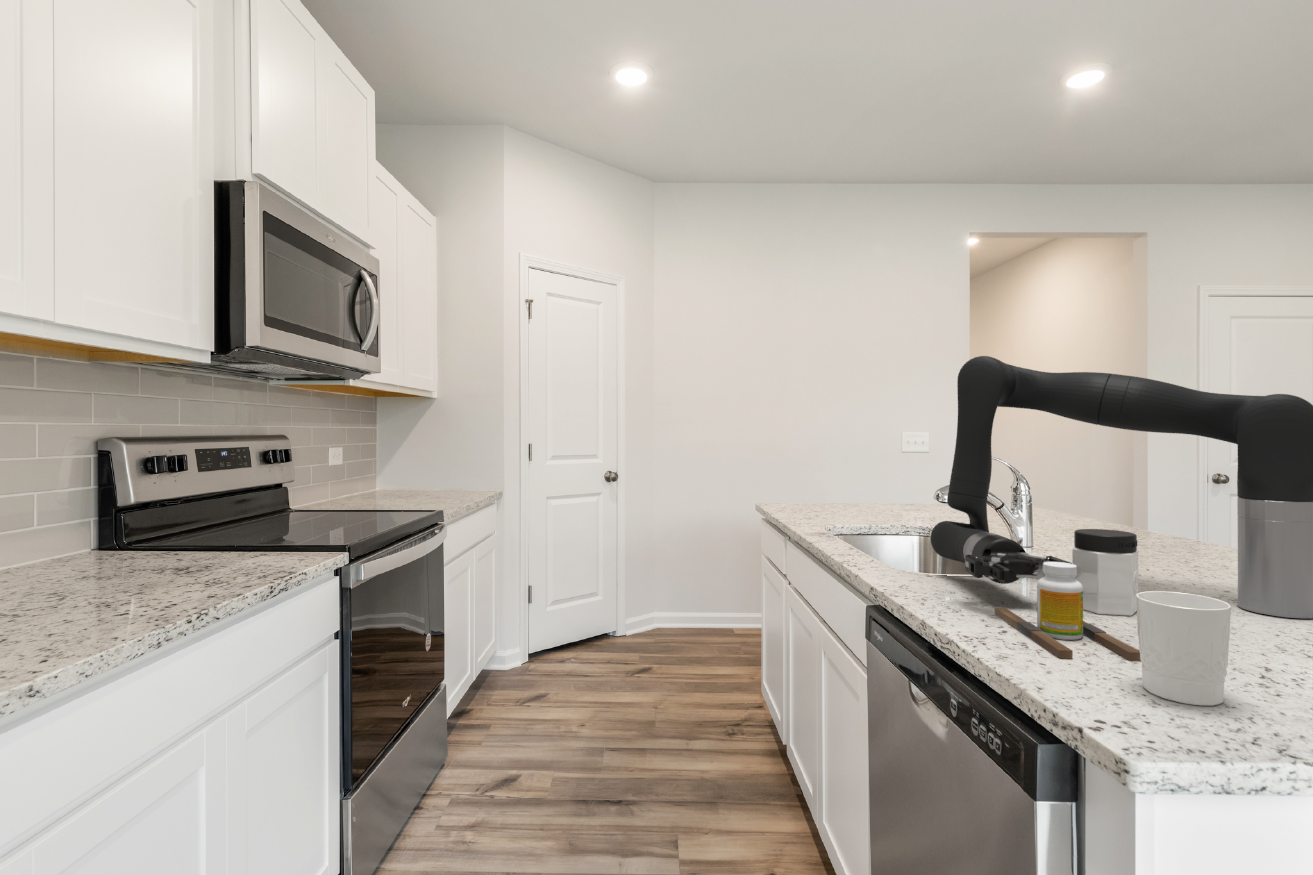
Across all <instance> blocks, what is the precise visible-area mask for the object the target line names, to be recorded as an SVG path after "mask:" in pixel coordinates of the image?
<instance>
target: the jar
mask: <svg viewBox="0 0 1313 875" xmlns="http://www.w3.org/2000/svg"><path fill="white" fill-rule="evenodd" d="M1073 537H1074V541H1073V542H1074V547H1072V549H1071V550H1072V564H1074V565H1076V566H1077V574H1076V575H1077V576H1076V577H1075V580H1077V581H1079V582H1080V583H1081V584H1082V586H1083V611H1087V612H1091V613H1094V614H1097V615H1106V616H1107V615H1108V616H1109V615H1110V616H1111V615H1112V616H1124V617H1132V616H1133V615H1134V614H1135V613H1137V604H1136V594H1137V593H1139V550H1138V540H1137V539H1138V537H1137V534H1136V533H1133V532H1129V531H1124V530H1116V529H1106V528H1105V529H1102V528H1081V529H1075V530H1074V533H1073Z"/></svg>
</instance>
